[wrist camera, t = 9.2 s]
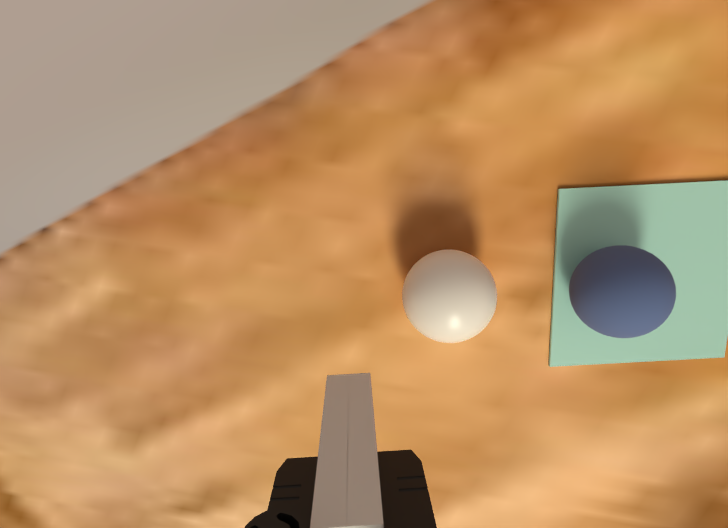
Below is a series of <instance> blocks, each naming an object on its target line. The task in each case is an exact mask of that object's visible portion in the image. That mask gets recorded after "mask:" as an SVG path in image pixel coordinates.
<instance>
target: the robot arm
mask: <svg viewBox="0 0 728 528" xmlns="http://www.w3.org/2000/svg"><path fill="white" fill-rule="evenodd" d="M245 528H437V527H436V522H435V518H434V514H433V510H432V505H431V501H430V497H429V492H428V489H427V484H426V479H425V475H424V471H423V466H422V462H421V460H420V459H419V458H418V457H417V456H416V455H415V454H414V452H413V451H412V450H399V451H383V452H377V444H376V433H375V422H374V410H373V399H372V388H371V376H370V373H360V374H343V375H327V381H326V390H325V399H324V408H323V416H322V425H321V434H320V443H319V452H318V457H305V458H288V459H286V461H285V462H284V463H283V464H282V466H281V467H280V468H279V469H278V471H277V473H276V477H275V481H274V485H273V489H272V494H271V498H270V502H269V506H268V510H267V511H265V512H263V513H261V514H260V515H258V516H256V517H254V518H253V519H252V520H251V521H250V522H249V523H248V524H247V525H246V526H245Z"/></svg>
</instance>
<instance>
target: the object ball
mask: <svg viewBox="0 0 728 528" xmlns="http://www.w3.org/2000/svg"><path fill="white" fill-rule="evenodd" d="M569 297H570V301H571V305H572V307H573V309H574V311H575V313H576V314H577V316H578V317H579V318H580V319H581V321H582V322H584V323H585V324H586V325H587V326H588V327H590V328H591V329H593V330H594V331H596V332H598V333H601V334H603V335H606V336H610V337H615V338H633V337H638V336H642V335H645V334H647V333H650V332H652V331H653V330H655V329H657V328H658V327H659V326H660V325H662V324H663V323H664V322H665V321H666V319H667V318H668V317H669V315H670V314H671V312H672V310H673V307H674V304H675V300H676V286H675V282H674V279H673V276H672V274H671V272H670V271H669V269H668V268H667V266H666V265H665V264H664V263H663V262H662V261H661V260H660V259H659V258H657V257H656V256H655V255H653V254H652V253H650V252H648V251H646V250H643V249H640V248H637V247H633V246H626V245H616V246H609V247H605V248H601V249H599V250H596V251H594V252H592V253H591V254H589V255H588V256H586V257H585V258H584V259H583V260H582V261H581V262H580V263H579V264H578V265H577V267H576V268H575V270H574V272H573V274H572V276H571V279H570V283H569Z"/></svg>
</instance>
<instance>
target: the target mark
mask: <svg viewBox="0 0 728 528" xmlns="http://www.w3.org/2000/svg"><path fill="white" fill-rule="evenodd" d="M616 245H626V246H633V247H637V248H640V249H643V250H646V251H648V252H650V253H652V254H653V255H655V256H656V257H657V258H659V259H660V260H661V261H662V262H663V263H664V264H665V265H666V266H667V268H668V269H669V271H670V272H671V274H672V276H673V279H674V282H675V286H676V300H675V304H674V307H673V310H672V312H671V314H670V315H669V317H668V318H667V319H666V321H665V322H664V323H663V324H662V325H660V326H659V327H658V328H657V329H655V330H653V331H652V332H650V333H647V334H645V335H642V336H638V337H633V338H615V337H610V336H606V335H603V334H601V333H598V332H596V331H594V330H593V329H591V328H590V327H588V326H587V325H586V324H585V323H584V322H582V321H581V319H580V318H579V317H578V316H577V314H576V313H575V311H574V309H573V307H572V305H571V301H570V297H569V283H570V279H571V276H572V274H573V272H574V270H575V268H576V267H577V265H578V264H579V263H580V262H581V261H582V260H583V259H584V258H585V257H586V256H588V255H589V254H591V253H592V252H594V251H596V250H599V249H601V248H605V247H609V246H616ZM727 336H728V180H722V181H703V182H683V183H663V184H643V185H624V186H604V187H584V188H565V189H558V199H557V218H556V236H555V255H554V274H553V293H552V312H551V331H550V349H549V366H550V367H553V366H572V365H591V364H609V363H628V362H646V361H665V360H683V359H702V358H720V357H724V356H725V350H726V343H727Z"/></svg>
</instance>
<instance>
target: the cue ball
mask: <svg viewBox="0 0 728 528" xmlns="http://www.w3.org/2000/svg"><path fill="white" fill-rule="evenodd" d="M402 300H403V306H404V310H405V313H406V315H407V317H408V319H409V320H410V322H411V323H412V325H413V326H414V327H415V328H416V329H417V330H418V331H419V332H420V333H422V334H423V335H425V336H426V337H428V338H430V339H432V340H435V341H439V342H444V343H457V342H462V341H465V340H468V339H470V338H472V337H474V336H476V335H477V334H479V333H480V332H481V331H482V330H483V329H484V328H485V327H486V326H487V325H488V323H489V322H490V320H491V319H492V317H493V315H494V312H495V309H496V304H497V289H496V285H495V282H494V279H493V277H492V275H491V273H490V271H489V270H488V269H487V267H486V266H485V265H484V264H483V263H482V262H481V261H480V260H479V259H477V258H476V257H474V256H472V255H471V254H468V253H466V252H463V251H459V250H447V249H446V250H439V251H435V252H432V253H430V254H428V255H426V256H424V257H422V258H421V259H420V260H418V261H417V262H416V263H415V264H414V265H413V267H412V268H411V269H410V271H409V272H408V274H407V276H406V278H405V281H404V285H403V290H402Z"/></svg>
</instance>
